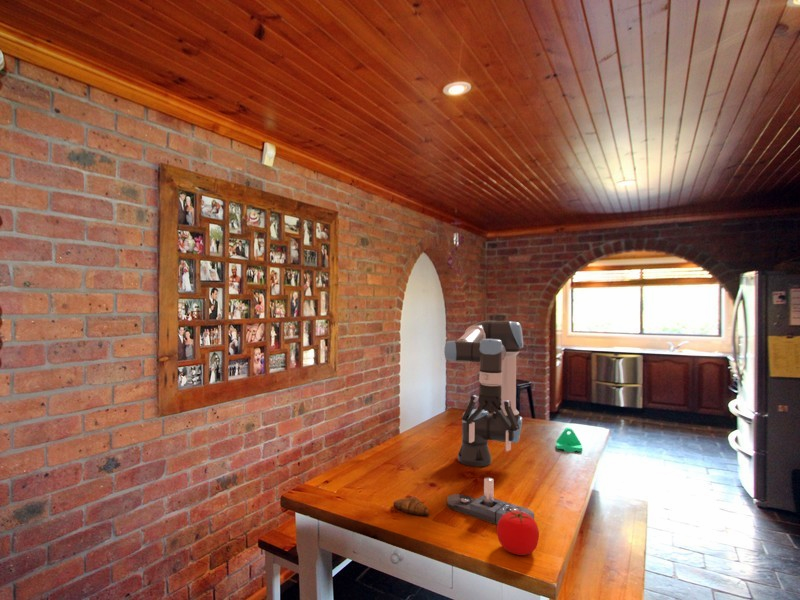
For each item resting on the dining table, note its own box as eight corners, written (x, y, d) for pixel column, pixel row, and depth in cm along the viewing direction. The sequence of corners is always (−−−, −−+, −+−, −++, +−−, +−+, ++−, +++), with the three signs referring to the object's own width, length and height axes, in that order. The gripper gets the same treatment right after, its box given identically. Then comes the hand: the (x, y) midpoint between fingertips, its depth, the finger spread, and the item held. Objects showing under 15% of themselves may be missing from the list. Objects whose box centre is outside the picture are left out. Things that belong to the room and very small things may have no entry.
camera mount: (556, 450, 215) (556, 430, 215) (556, 446, 222) (556, 426, 222) (582, 453, 211) (582, 432, 211) (581, 449, 218) (581, 428, 219)
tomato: (521, 566, 116) (521, 527, 116) (488, 546, 126) (489, 510, 126) (547, 552, 123) (548, 516, 123) (515, 535, 133) (515, 500, 133)
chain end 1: (442, 506, 151) (442, 498, 151) (455, 497, 158) (455, 490, 158) (495, 524, 139) (495, 516, 139) (506, 514, 146) (506, 506, 146)
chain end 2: (470, 515, 144) (470, 502, 144) (482, 506, 151) (482, 493, 152) (528, 535, 132) (528, 520, 132) (538, 524, 139) (538, 510, 140)
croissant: (433, 512, 146) (433, 497, 147) (424, 520, 141) (424, 505, 141) (398, 503, 153) (399, 489, 153) (389, 510, 147) (389, 496, 147)
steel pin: (481, 515, 145) (482, 479, 145) (486, 511, 147) (486, 476, 148) (490, 518, 143) (491, 482, 143) (494, 514, 145) (495, 479, 146)
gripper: (453, 381, 152) (452, 441, 152) (521, 390, 137) (520, 457, 137) (463, 378, 158) (462, 436, 158) (529, 387, 143) (528, 450, 143)
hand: (489, 445), depth 147 cm, fingers open, 13 cm apart
